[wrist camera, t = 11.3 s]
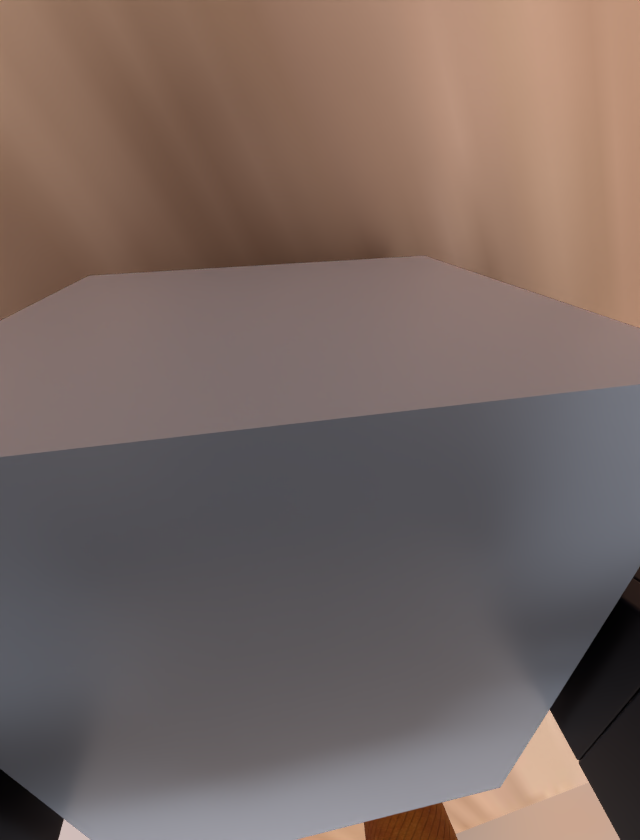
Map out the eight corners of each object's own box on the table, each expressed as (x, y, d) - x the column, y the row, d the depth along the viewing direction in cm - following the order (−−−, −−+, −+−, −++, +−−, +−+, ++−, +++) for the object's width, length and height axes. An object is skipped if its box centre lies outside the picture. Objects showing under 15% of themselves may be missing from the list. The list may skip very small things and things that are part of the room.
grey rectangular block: (424, 255, 9) (764, 370, 3) (394, 541, 14) (499, 787, 8) (88, 275, 8) (-344, 496, 2) (188, 573, 13) (140, 879, 7)
